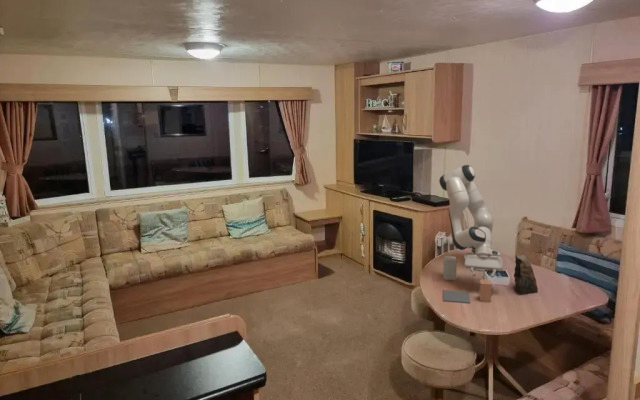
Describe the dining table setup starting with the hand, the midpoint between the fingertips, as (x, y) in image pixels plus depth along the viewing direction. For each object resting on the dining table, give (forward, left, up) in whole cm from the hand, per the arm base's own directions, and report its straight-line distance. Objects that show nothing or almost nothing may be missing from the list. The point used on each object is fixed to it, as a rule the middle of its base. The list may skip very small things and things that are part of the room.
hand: (483, 276), depth 240 cm
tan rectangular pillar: (+6, +1, -11) cm, 12 cm away
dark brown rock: (-10, +24, -11) cm, 28 cm away
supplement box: (-22, -17, -11) cm, 30 cm away
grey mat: (+6, -14, -11) cm, 19 cm away
